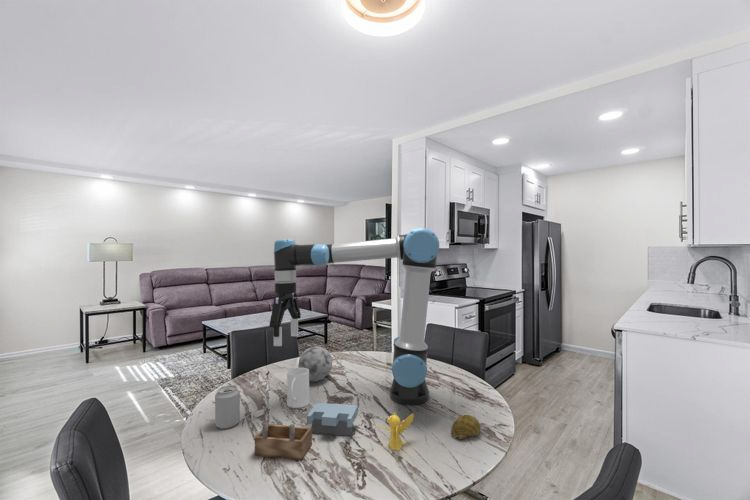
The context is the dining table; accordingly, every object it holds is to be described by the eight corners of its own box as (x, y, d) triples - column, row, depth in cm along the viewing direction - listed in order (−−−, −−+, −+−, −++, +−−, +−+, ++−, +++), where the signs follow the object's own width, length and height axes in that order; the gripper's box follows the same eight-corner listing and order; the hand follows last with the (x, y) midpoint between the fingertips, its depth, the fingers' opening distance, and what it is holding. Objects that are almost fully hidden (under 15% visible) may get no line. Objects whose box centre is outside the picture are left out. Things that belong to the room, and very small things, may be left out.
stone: (291, 381, 149) (290, 347, 149) (318, 371, 161) (318, 340, 161) (313, 390, 139) (312, 353, 139) (340, 379, 151) (340, 345, 151)
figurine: (380, 428, 108) (379, 401, 108) (414, 438, 102) (414, 409, 102) (360, 447, 98) (359, 417, 98) (397, 459, 92) (396, 427, 92)
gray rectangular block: (353, 429, 108) (353, 416, 108) (350, 435, 104) (350, 422, 104) (317, 426, 110) (317, 414, 110) (312, 432, 106) (312, 420, 106)
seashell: (460, 454, 101) (474, 441, 97) (442, 434, 104) (455, 421, 100) (474, 434, 108) (488, 422, 104) (457, 416, 111) (469, 403, 107)
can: (215, 432, 107) (215, 394, 107) (214, 422, 114) (214, 386, 114) (241, 426, 111) (240, 389, 111) (238, 416, 117) (238, 382, 118)
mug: (300, 413, 120) (300, 379, 120) (278, 411, 121) (278, 377, 121) (313, 398, 131) (313, 367, 131) (292, 397, 133) (292, 366, 133)
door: (357, 413, 111) (357, 405, 111) (351, 427, 102) (351, 418, 102) (316, 410, 113) (316, 402, 113) (306, 423, 104) (306, 415, 104)
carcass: (312, 444, 100) (311, 414, 100) (301, 460, 92) (301, 427, 92) (267, 440, 102) (267, 410, 102) (254, 456, 95) (253, 423, 95)
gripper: (290, 279, 136) (291, 332, 136) (257, 285, 112) (259, 350, 111) (308, 279, 135) (309, 332, 135) (279, 285, 110) (280, 350, 110)
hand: (286, 340), depth 123 cm, fingers open, 13 cm apart
